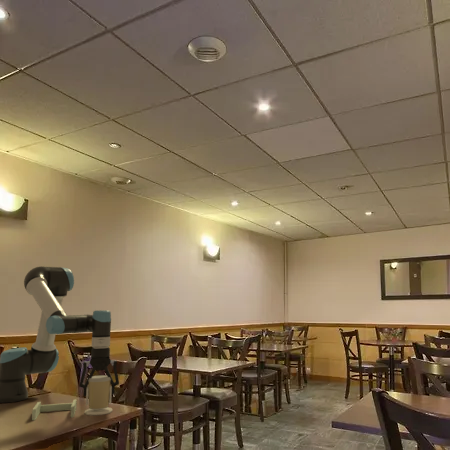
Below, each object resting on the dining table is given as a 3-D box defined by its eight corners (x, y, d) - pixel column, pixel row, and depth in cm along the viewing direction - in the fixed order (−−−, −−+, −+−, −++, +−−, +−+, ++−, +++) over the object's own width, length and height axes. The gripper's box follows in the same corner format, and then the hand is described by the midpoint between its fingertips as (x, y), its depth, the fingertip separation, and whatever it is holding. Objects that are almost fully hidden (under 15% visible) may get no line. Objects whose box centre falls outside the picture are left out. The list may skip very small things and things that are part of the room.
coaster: (85, 410, 183) (85, 408, 184) (112, 408, 186) (112, 406, 186) (83, 416, 173) (83, 414, 173) (112, 414, 176) (112, 412, 176)
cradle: (37, 411, 182) (38, 401, 183) (76, 408, 186) (76, 398, 187) (31, 420, 168) (32, 409, 169) (73, 417, 172) (74, 406, 173)
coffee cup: (105, 403, 186) (106, 374, 189) (113, 407, 179) (114, 377, 181) (83, 407, 181) (84, 376, 183) (91, 411, 174) (92, 379, 176)
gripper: (73, 349, 178) (70, 407, 174) (126, 347, 183) (125, 403, 179) (74, 347, 185) (72, 403, 181) (126, 345, 191) (124, 400, 187)
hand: (98, 403), depth 180 cm, fingers closed on coffee cup, 9 cm apart
